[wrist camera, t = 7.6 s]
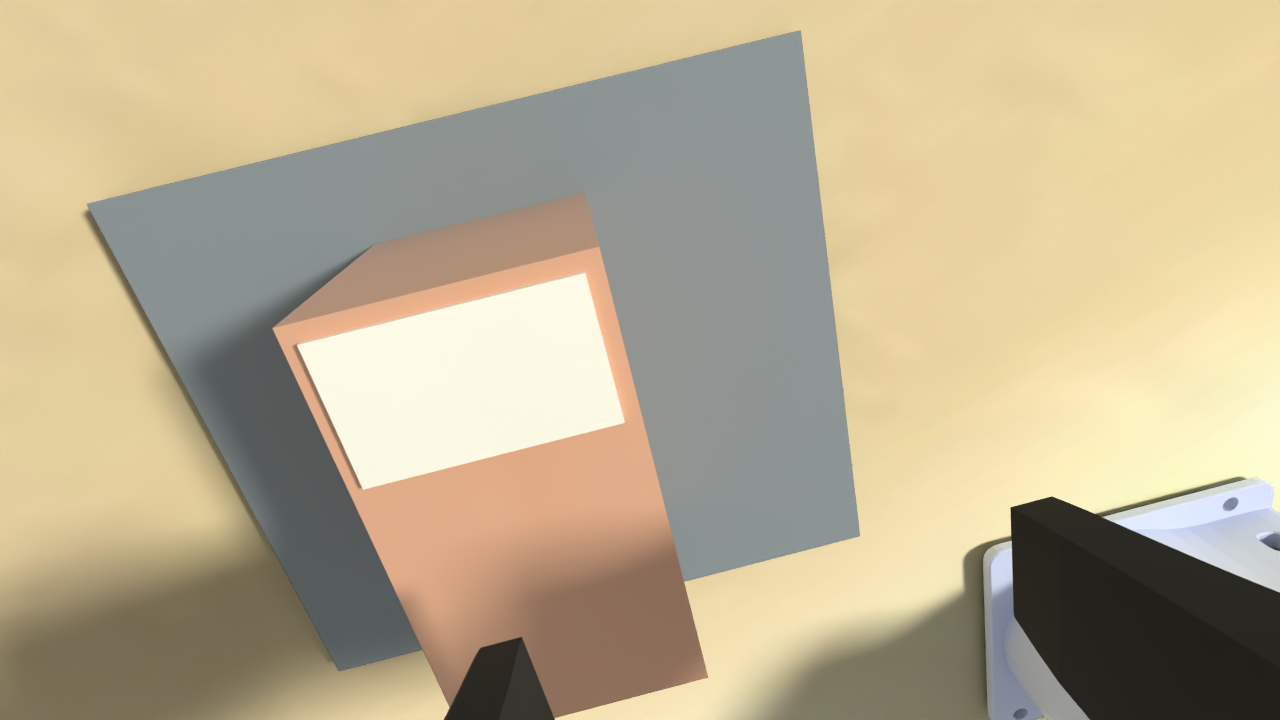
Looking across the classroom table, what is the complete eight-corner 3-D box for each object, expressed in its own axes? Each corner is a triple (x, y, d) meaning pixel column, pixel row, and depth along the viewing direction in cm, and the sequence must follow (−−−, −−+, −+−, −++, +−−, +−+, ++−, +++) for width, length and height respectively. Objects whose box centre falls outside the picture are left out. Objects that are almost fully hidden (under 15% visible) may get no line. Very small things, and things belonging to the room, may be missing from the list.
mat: (791, 32, 15) (800, 30, 15) (852, 523, 21) (860, 536, 20) (104, 199, 15) (86, 204, 15) (344, 655, 20) (338, 671, 20)
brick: (664, 507, 19) (709, 683, 13) (492, 551, 19) (464, 747, 13) (584, 191, 16) (599, 249, 10) (374, 244, 16) (268, 331, 10)
